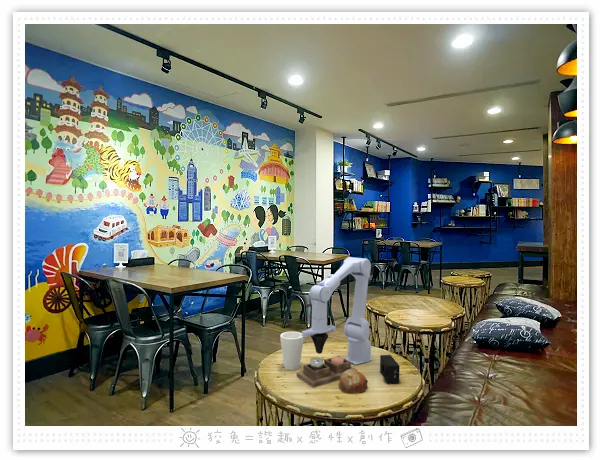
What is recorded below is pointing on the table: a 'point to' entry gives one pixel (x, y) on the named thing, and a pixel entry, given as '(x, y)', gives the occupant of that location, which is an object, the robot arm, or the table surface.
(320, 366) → the grey plunger
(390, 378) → the digital camera
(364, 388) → the bread roll
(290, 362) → the foam cup
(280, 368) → the table surface
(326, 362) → the brown wooden tray
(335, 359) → the tan rounded piece
